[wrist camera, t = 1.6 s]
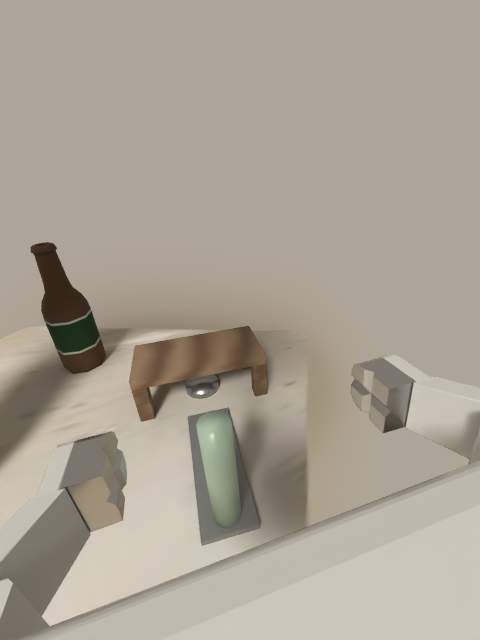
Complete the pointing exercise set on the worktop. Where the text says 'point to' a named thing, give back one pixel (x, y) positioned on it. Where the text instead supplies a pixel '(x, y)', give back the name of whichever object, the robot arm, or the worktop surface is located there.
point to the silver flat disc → (202, 386)
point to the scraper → (220, 478)
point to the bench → (195, 362)
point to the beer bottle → (67, 314)
